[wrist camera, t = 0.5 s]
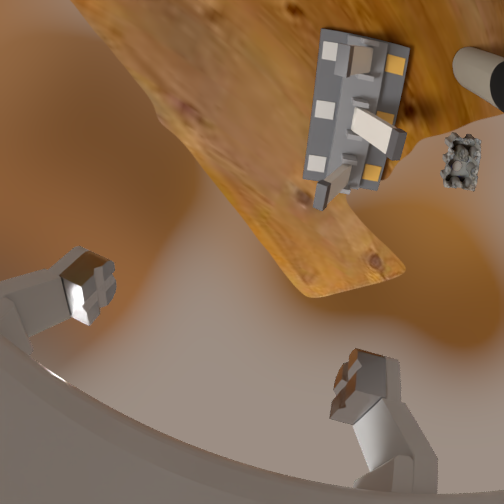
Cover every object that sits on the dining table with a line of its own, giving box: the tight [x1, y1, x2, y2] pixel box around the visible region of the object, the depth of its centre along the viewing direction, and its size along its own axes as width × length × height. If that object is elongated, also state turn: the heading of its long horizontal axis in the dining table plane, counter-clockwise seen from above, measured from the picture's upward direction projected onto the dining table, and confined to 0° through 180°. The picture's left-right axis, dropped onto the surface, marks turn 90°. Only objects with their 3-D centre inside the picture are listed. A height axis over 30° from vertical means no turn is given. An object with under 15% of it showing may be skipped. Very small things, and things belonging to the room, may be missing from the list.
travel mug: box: [453, 47, 504, 112], centre depth 30 cm, size 8×8×18 cm
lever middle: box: [351, 107, 407, 160], centre depth 41 cm, size 2×4×11 cm, turn 177°
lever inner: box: [334, 43, 373, 78], centre depth 35 cm, size 2×4×11 cm, turn 177°
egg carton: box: [440, 132, 481, 191], centre depth 47 cm, size 11×8×4 cm
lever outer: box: [313, 163, 352, 211], centre depth 48 cm, size 2×4×11 cm, turn 177°
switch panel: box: [303, 29, 410, 194], centre depth 46 cm, size 14×27×5 cm, turn 177°
